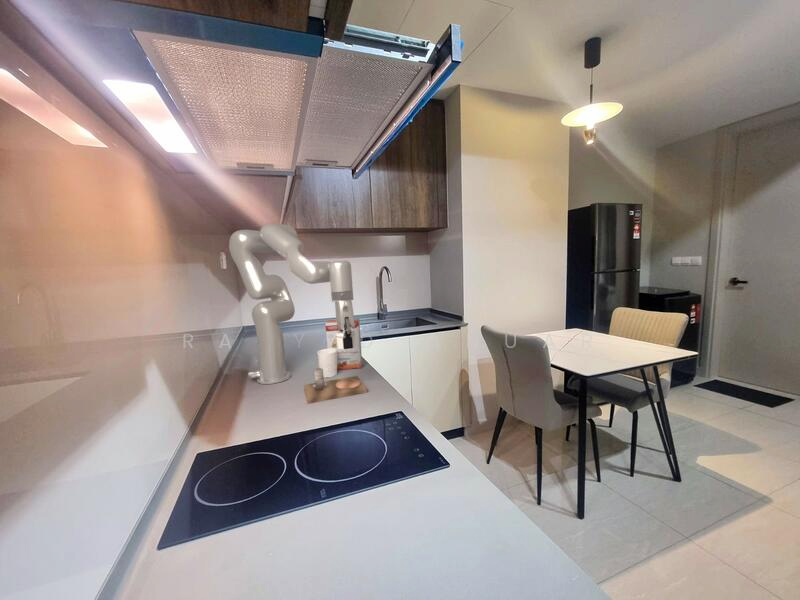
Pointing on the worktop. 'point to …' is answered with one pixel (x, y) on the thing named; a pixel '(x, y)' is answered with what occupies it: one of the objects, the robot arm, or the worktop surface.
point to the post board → (332, 388)
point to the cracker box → (345, 356)
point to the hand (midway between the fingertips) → (346, 345)
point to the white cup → (328, 362)
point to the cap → (340, 339)
